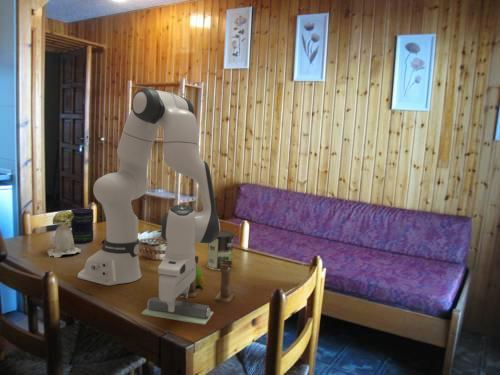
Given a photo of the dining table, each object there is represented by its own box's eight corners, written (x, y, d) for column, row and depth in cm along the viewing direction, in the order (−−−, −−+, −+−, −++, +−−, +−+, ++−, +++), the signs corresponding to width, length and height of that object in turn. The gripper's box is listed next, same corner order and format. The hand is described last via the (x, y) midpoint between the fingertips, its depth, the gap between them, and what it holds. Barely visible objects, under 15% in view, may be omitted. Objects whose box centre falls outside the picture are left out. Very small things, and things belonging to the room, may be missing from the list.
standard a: (180, 295, 137) (181, 259, 135) (187, 288, 143) (188, 254, 141) (194, 297, 136) (196, 261, 134) (200, 290, 142) (202, 256, 140)
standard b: (214, 300, 135) (216, 264, 133) (220, 293, 140) (221, 259, 139) (229, 302, 133) (231, 266, 132) (234, 295, 139) (236, 260, 138)
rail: (146, 309, 124) (147, 300, 124) (151, 305, 127) (151, 296, 127) (207, 319, 120) (207, 309, 120) (210, 315, 123) (210, 305, 122)
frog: (86, 254, 174) (86, 211, 172) (56, 259, 164) (56, 215, 162) (72, 247, 182) (73, 207, 179) (43, 253, 172) (43, 210, 170)
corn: (192, 271, 139) (161, 256, 153) (190, 293, 139) (159, 275, 154) (209, 268, 144) (177, 254, 158) (207, 289, 144) (176, 273, 159)
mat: (141, 314, 122) (141, 312, 122) (153, 303, 130) (153, 302, 129) (205, 324, 118) (205, 323, 117) (213, 313, 125) (213, 311, 125)
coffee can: (234, 264, 172) (236, 231, 170) (228, 272, 162) (230, 237, 160) (211, 261, 174) (212, 229, 172) (203, 269, 164) (205, 234, 162)
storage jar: (88, 245, 187) (88, 213, 185) (66, 243, 187) (66, 211, 185) (96, 239, 197) (96, 208, 195) (76, 238, 197) (76, 207, 195)
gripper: (183, 249, 132) (181, 290, 134) (155, 269, 112) (153, 317, 114) (201, 252, 131) (199, 293, 133) (176, 272, 111) (174, 320, 113)
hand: (178, 304), depth 123 cm, fingers open, 8 cm apart
